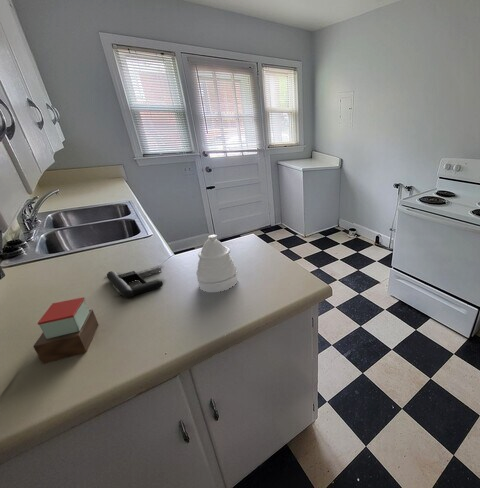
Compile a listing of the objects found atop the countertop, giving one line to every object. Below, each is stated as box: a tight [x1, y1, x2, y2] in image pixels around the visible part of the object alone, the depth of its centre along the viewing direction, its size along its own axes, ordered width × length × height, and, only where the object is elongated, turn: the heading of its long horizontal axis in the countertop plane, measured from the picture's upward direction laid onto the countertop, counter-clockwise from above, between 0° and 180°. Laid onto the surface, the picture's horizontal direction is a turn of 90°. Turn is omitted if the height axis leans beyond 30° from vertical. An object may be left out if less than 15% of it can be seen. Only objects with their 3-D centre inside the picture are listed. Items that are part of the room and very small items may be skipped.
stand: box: [33, 309, 100, 364], centre depth 66 cm, size 8×11×5 cm
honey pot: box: [195, 234, 239, 293], centre depth 91 cm, size 13×13×18 cm
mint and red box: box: [37, 296, 90, 339], centre depth 65 cm, size 6×8×5 cm
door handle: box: [105, 265, 164, 299], centre depth 94 cm, size 3×20×16 cm
